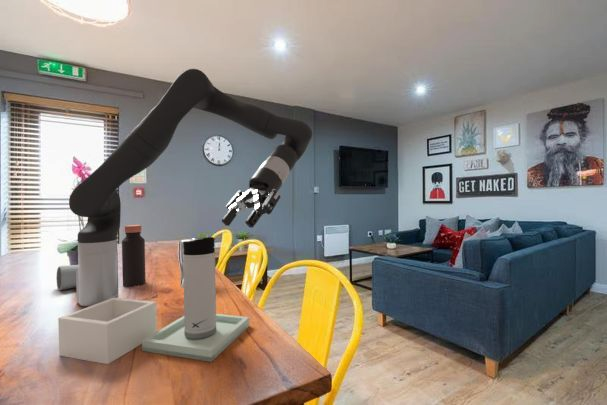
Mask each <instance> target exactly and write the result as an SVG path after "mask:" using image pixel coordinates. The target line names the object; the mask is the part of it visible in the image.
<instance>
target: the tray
mask: <svg viewBox="0 0 607 405" xmlns="http://www.w3.org/2000/svg"><path fill="white" fill-rule="evenodd" d="M249 327H250V317H249V316H241V315H231V314H222V313H216V332H215V333H214V334H212V335H211V336H209V337H206V338H202V339H190V338H187V337H186V336H185V333H184V328H185V327H184V315H183V316H181V317H179V318H177V319H176V320H174V321H173V322H171V323H169V324H168V325H166V326H164V327H163V328H161V329H159V330H157V332H155V333H154V334H152V335H150V336H149V337H147V338H145V339H144V340H142V344H141V350H142V352H146V353H147V352H148V353H153V354H159V355H160V354H161V355H167V356H172V357H180V358H184V359H190V360H191V359H193V360H198V361H204V362H210V363H212V362H213V361H215V359H216V358H217V357H219V356H220V354H222V353H223V352H224V350H226V348H228V347H229V346H230V345H231V344H232V343H233V342H234V341H236V339H238V338H239V337H240V336H241V335H242V334H243V333H244V332H245V331H246V330H247V329H248V328H249Z"/></svg>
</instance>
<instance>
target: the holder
mask: <svg viewBox="0 0 607 405" xmlns="http://www.w3.org/2000/svg"><path fill="white" fill-rule="evenodd" d="M157 315H158V314H157V301H151V300H149V301H148V300H140V299H130V298H121V297H118V298H111V299H109V300H106V301H103V302H100V303H98V304H95V305H92V306H86V307H85V308H82V309H79V310H76V311H74V312H71V313H69V314H66V315H64V316H63V315H62V316H60V317H58V318H57V320H58V322H57V323H58V324H57V325H58V352H59V354H58V355H59V356H60V357H66V358H70V359H71V358H72V359H76V360H81V361H82V360H83V361H87V362H94V363H99V364H104V365H105V364H106V365H110V364H111V363H112V362H115V360H117V359H119V358H121V357H122V356H124V355H126V354H127V353H129V352H131V351H132V350H134V349H136V348H137V347H139V346H142V340H144V339H145V338H147V337H149V336H150V335H152V334H154V333H155V332H157V331H158V324H157V318H158V317H157Z"/></svg>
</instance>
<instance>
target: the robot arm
mask: <svg viewBox="0 0 607 405" xmlns="http://www.w3.org/2000/svg"><path fill="white" fill-rule="evenodd" d="M193 109H196V110H201V111H204V112H207V113H210V114H214V115H217V116H219V117H223V118H225V119H228V120H230V121H232V122H233V123H236V124H238V125H240V126H242V127H244V128H246V129H248V130H249V131H251V132H254V133H255V134H258V135H260V136H261V137H264V138H266V139H268V140H274V139H275V138H276V137H277V136H278V135H282V136H285V137H284V139H283V142H282V143H281V144H279V145H278V146H276V147H275V148H274V149H273V150H272V152H271V153H270V154H269V156H268V157H267V158H266V159H265V160H264V161H263V162H262V163H261V164H260V166H259V167H258V168H257V170H256V171H255V172H254V174H253V175H252V176H251V178H250V179H249V180H248V186H249V187H248V189H247V190H246V191H245V192H243V191H241V190H240V189H239V190H237V192H236V193H235V194H234V195H233V196H232V197H231V199H230V200H229V201H228V202H227V204H226V205H225V207H226V209H227V210H228V211H227V212H226V214H224V216H223V218H222V219H221V222H222V224H224V225H225V226H226V227H227V226H229V227H230V225H231V224H232V222H233V221H234V219H235V218H236V217H237V215H238V214H241V212H245V211H247V210H249V209H251V208H252V209H253V210H251V212H250V214H249V215H248V217H247V218H246V219H245V220H244V221H245V222H244V223H245V224H246V226H247V227H249V228H251V229H252V228H254V227H255V226H256V225H257V223H258V222H259V220H260V218H261V217H263V216H265V214H267V215H270V214H271V213H272V212H273V211H274V209H275V206H277V204H278V202H279V200H280V199H281V195H280V193H279V191H280V189H281V188H282V186H283V185H284V183H285V182H286V180H287V178H288V176H289V174H290V172H291V171H292V169H293V168H294V166H295V165H296V164H297V163H298V161H299V160H300V159H301V158H302V156H303V154H305V152H306V150H307V148H308V146H309V144H310V142H311V139H312V137H313V131H312V128H311V127H310V125H308V124H307V123H306V122H304V121H302V120H299V119H295V118H290V117H287V116H286V117H285V116H281V115H276V114H274V113H273V112H271V111H268V110H266V109H265V108H262V107H260V106H257V105H254V104H251V103H249V102H244V101H241V100H239V99H235V98H233V97H232V96H230V95H227V94H226V93H225V92H223V91H221V90H220V89H219V88H217V87H215V85H214V84H213V83H212V82H211V80H210V79H209V77H208V76H207V75H206V74H205V73H204V72H203V70H200V69H197V68H189V69H186V70H183V71H182V72H181V73H180V74H178V76H176V78H175V79H174V81H173V82H172V84H171V85H170V86H169V88H168V90H167V91H166V92H165V94H164V95H163V96H162V98H161V99H160V101H159V102H157V104H156V105H155V106H154V107H153V108H152V109H151V110H150V111H149V113H147V115H145V117H144V118H143V119H142V120H141V121H140V122H139V124H137V125H136V126H135V127H134V128H133V129H132V131H130V132H129V133H128V134H127V136H126V137H125V138H124V139H123V140H122V142H121V143H120V144H119V145H118V147H117V148H115V149H114V151H113V152H112V153H111V154H110V155H109V156H108V157H107V158H106V159H105V160H104V161H103V163H102V164H101V165H99V167H97V168H96V169H95V170H94V171H93V172H92V173H91V174H89V176H87V177H86V178H85V179H84V180H82V181H81V182H80V183H79V184H78V185H76V187H75V188H74V189H73V190H72V192H71V193H70V196H69V199H68V205H69V208H70V211H71V212H72V213H73V214H74V215H76V216H78V217H82V218H87V223H86V224H85V226H84V227H83V228H82V229H80V230H79V231H78V233H77V254H78V255H77V260H78V262H77V265H78V269H77V270H76V287H75V288H76V304H79V306H81V307H90V306H92V305H95V304H98V303H100V302H103V301H106V300H109V299H111V298H120V297H119V296H120V295H119V263H118V262H119V260H118V234H119V233H118V232H119V230H120V228H121V211H122V210H121V209H122V208H121V205H122V203H121V197H120V194H119V192H118V189H119V187H120V186H122V185H123V184H124V183H126V181H128V180H130V179H131V178H133V177H134V176H137V175H138V174H140V173H141V172H143V171H144V170H146V169H147V168H148V167H151V166H152V164H153V163H155V162H156V161H157V160H158V159H159V158H160V156H161V155H162V154H163V153H164V152H165V151H166V150H167V148H168V146H169V145H170V143H171V141H172V140H173V137H174V134H175V132H176V130H177V127H178V126H179V124H180V122H181V121H182V120H183V118H184V117H185V116H187V114H189V112H191V110H193ZM243 204H244V205H243Z"/></svg>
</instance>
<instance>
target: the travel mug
mask: <svg viewBox="0 0 607 405" xmlns="http://www.w3.org/2000/svg"><path fill="white" fill-rule="evenodd" d="M198 239H199V238H198ZM215 246H216V245H215V237H213V236H207V237H203V238H201V239H199V240H194V241H185V242H183V249H184V251H183V256H184V257H183V275H184V287H183V313H184V314H183V316H184V327H185V328H184V333H185V336H186V337H187V338H190V339H202V338H206V337H209V336H211V335H212V334H214V333H215V332H216V314H217V300H216V298H217V294H216V292H217V291H216V289H217V288H216V255H215V254H216V251H215Z"/></svg>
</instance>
